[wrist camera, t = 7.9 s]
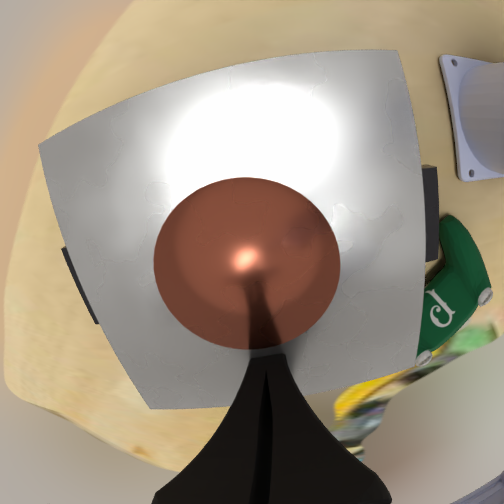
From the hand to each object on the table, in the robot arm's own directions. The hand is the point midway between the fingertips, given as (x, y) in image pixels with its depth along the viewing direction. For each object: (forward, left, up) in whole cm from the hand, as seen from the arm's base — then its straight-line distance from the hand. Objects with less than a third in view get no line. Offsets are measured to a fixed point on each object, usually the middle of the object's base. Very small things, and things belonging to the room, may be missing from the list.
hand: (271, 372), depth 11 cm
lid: (0, -5, -1) cm, 5 cm away
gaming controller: (-10, +2, -7) cm, 13 cm away
